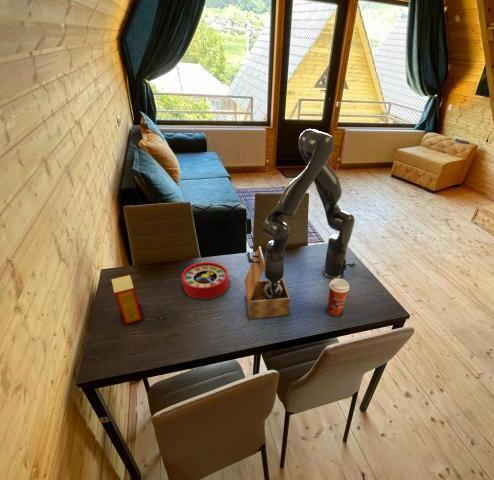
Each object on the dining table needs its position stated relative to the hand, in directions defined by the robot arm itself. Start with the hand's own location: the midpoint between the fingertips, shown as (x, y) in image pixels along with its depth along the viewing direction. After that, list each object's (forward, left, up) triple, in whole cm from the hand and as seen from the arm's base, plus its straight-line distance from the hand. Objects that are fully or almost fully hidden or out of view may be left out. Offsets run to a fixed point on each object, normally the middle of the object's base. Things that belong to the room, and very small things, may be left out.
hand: (272, 298), depth 134 cm
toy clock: (+28, -18, -4) cm, 34 cm away
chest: (+2, 0, -4) cm, 4 cm away
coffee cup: (-26, +7, -4) cm, 27 cm away
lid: (+8, 0, +14) cm, 16 cm away
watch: (0, -1, -3) cm, 3 cm away
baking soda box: (+57, -2, -4) cm, 57 cm away
